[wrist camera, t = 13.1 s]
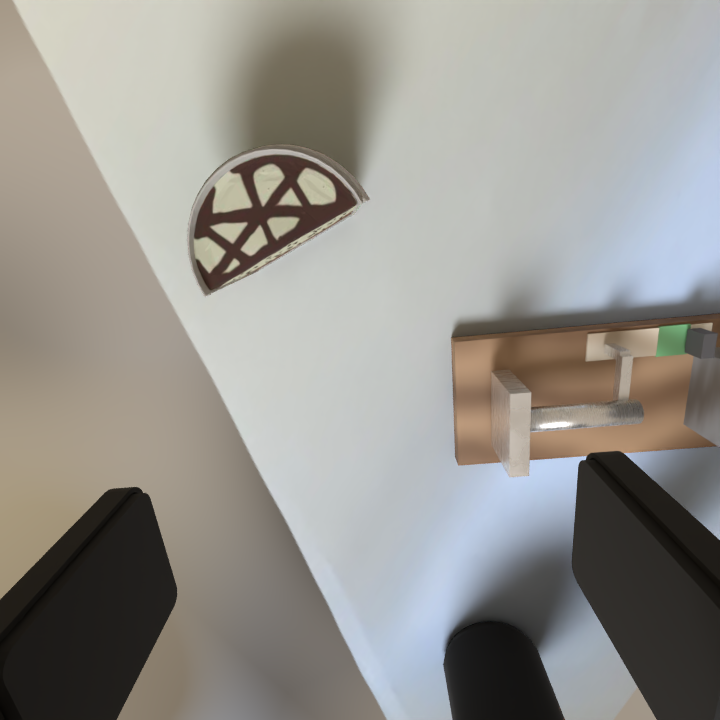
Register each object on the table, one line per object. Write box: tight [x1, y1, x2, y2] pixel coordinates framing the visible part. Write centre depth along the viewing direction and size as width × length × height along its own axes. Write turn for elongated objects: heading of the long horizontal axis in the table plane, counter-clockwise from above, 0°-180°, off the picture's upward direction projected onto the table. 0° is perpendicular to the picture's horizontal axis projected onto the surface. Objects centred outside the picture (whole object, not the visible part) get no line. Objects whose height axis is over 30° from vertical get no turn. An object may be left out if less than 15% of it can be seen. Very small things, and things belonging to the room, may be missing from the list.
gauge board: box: [451, 313, 720, 465], centre depth 34 cm, size 12×24×10 cm, turn 96°
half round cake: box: [187, 144, 370, 297], centre depth 29 cm, size 12×6×10 cm, turn 119°
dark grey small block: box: [685, 328, 718, 359], centre depth 34 cm, size 2×1×2 cm, turn 6°
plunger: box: [491, 343, 644, 477], centre depth 34 cm, size 8×11×5 cm
